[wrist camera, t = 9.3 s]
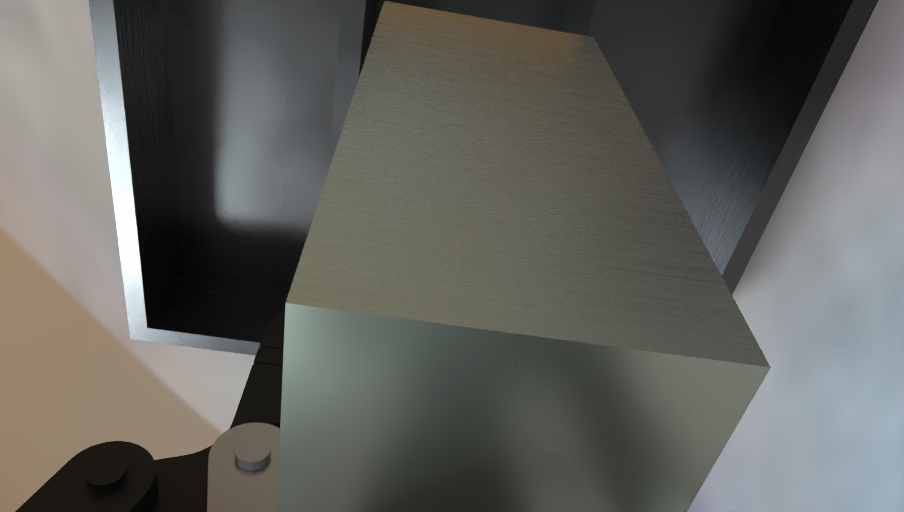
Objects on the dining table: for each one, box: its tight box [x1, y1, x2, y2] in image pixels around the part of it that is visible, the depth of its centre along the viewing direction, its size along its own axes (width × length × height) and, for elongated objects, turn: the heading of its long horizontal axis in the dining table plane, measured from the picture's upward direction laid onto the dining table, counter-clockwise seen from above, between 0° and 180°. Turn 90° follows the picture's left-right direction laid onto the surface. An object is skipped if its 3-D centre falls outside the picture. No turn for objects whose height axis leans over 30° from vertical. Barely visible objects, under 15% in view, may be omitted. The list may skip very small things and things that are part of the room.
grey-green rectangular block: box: [277, 1, 771, 512], centre depth 13 cm, size 4×12×9 cm, turn 170°
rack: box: [89, 0, 878, 355], centre depth 22 cm, size 19×16×4 cm
